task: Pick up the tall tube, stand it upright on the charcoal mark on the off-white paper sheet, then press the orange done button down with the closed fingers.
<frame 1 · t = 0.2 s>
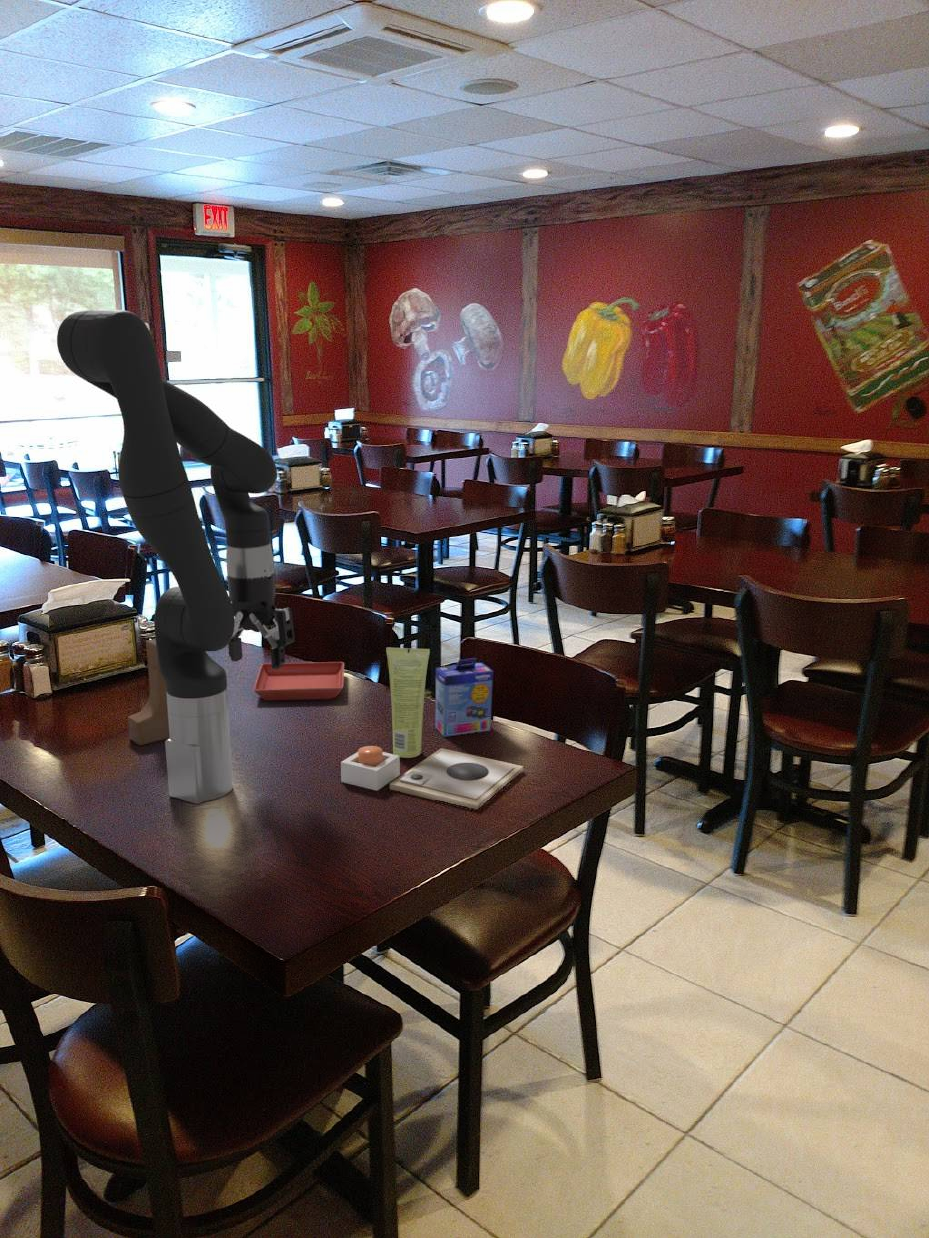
hand: (257, 663, 164), 18 cm above the table, tool pointing down, fingers open, 8 cm apart
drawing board: (457, 780, 162), on the table
plant saucer: (301, 690, 206), on the table
ink cartridge box: (463, 730, 184), on the table
button housing: (370, 778, 162), on the table
tube: (408, 754, 172), on the table
done button: (370, 760, 161), point 3 cm above the table, slide at 0.0 cm
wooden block: (157, 737, 178), on the table
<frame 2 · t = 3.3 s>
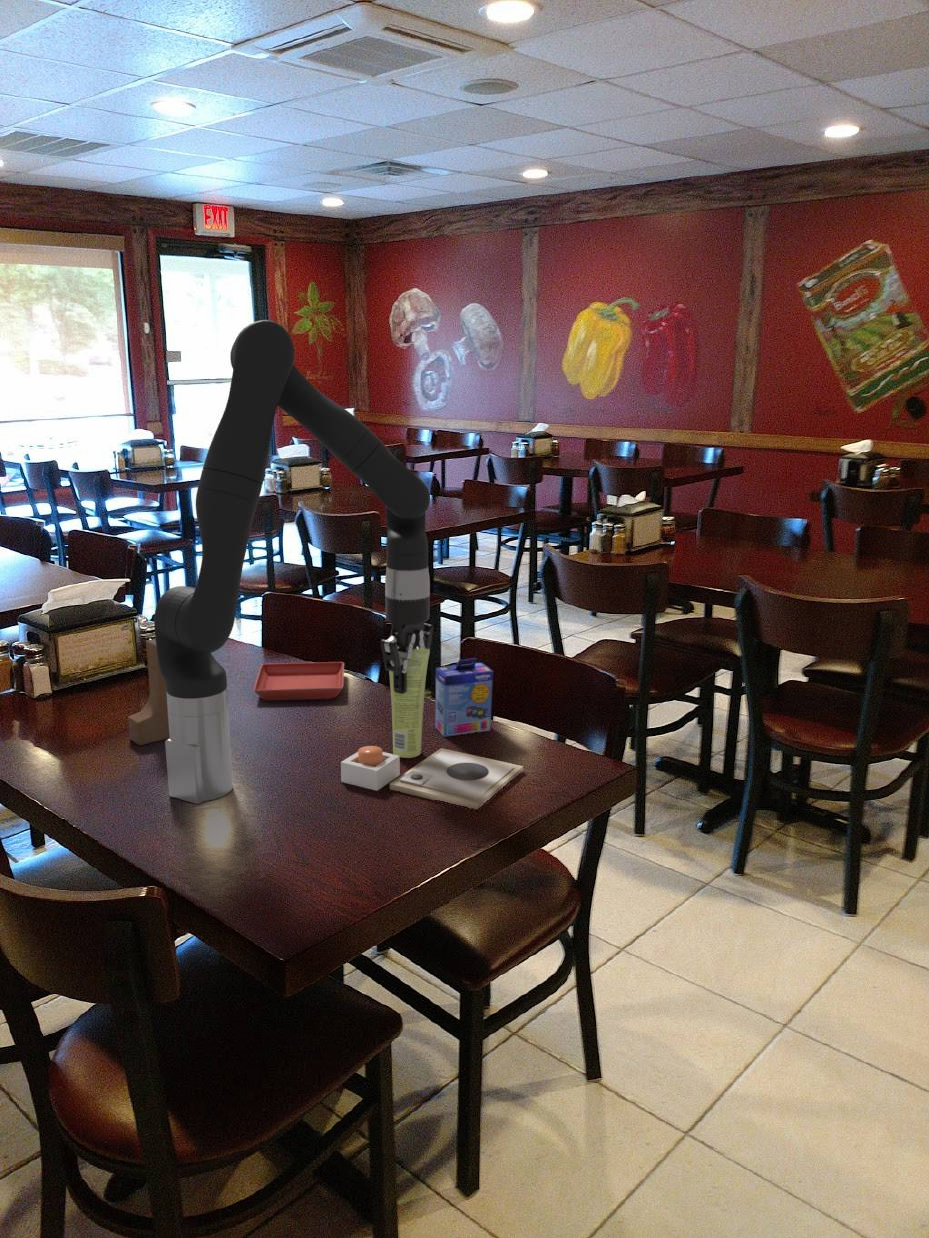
hand: (407, 687, 169), 12 cm above the table, tool pointing down, fingers closed on tube, 4 cm apart
tube: (408, 754, 172), on the table, touching gripper
everything else where it was.
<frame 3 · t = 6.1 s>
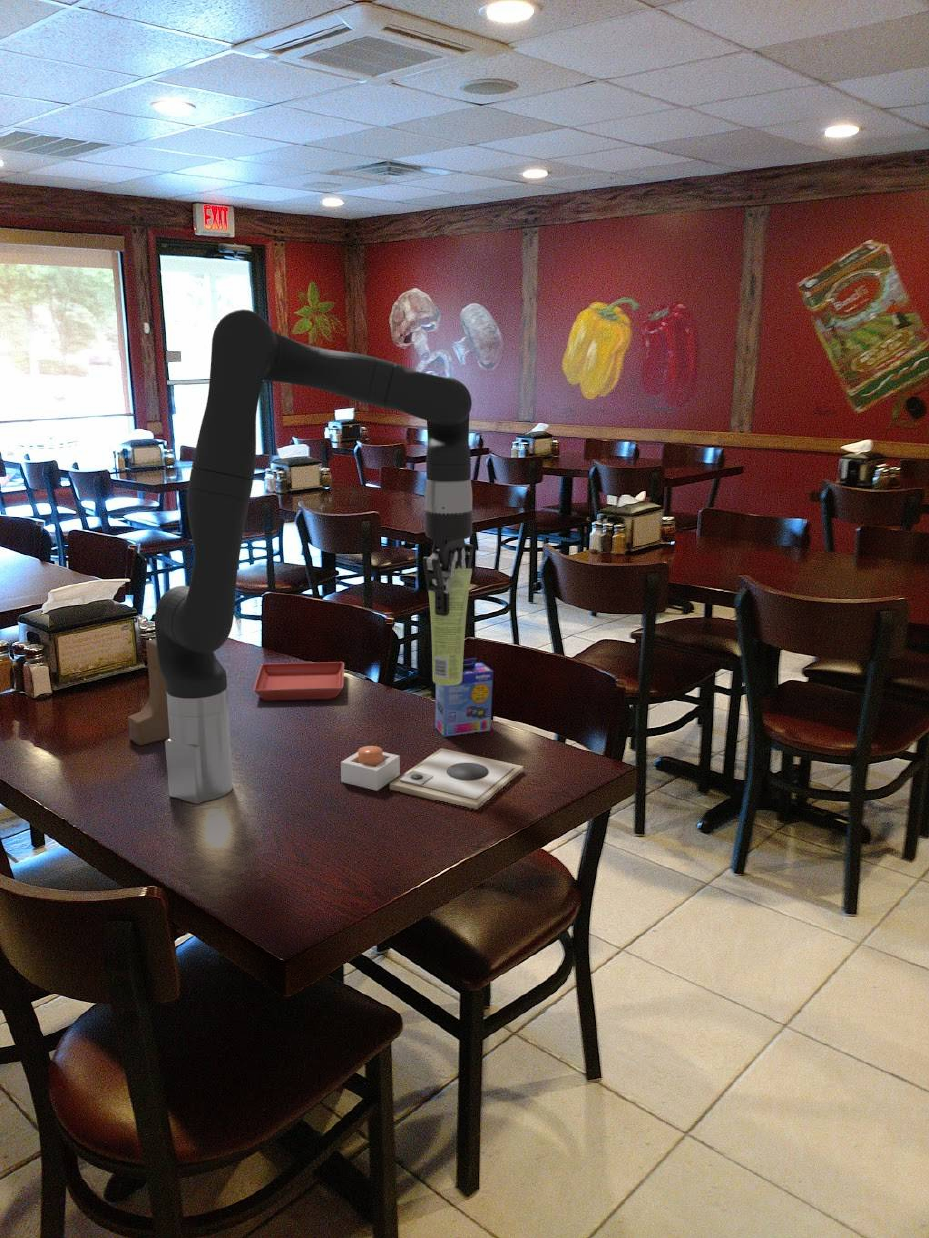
hand: (449, 610, 159), 28 cm above the table, tool pointing down, fingers closed on tube, 4 cm apart
tube: (448, 683, 162), point 15 cm above the table, touching gripper
everything else where it was.
when the fingers open (14 cm above the table, at t = 8.6 s): tube stays where it is, resting on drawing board.
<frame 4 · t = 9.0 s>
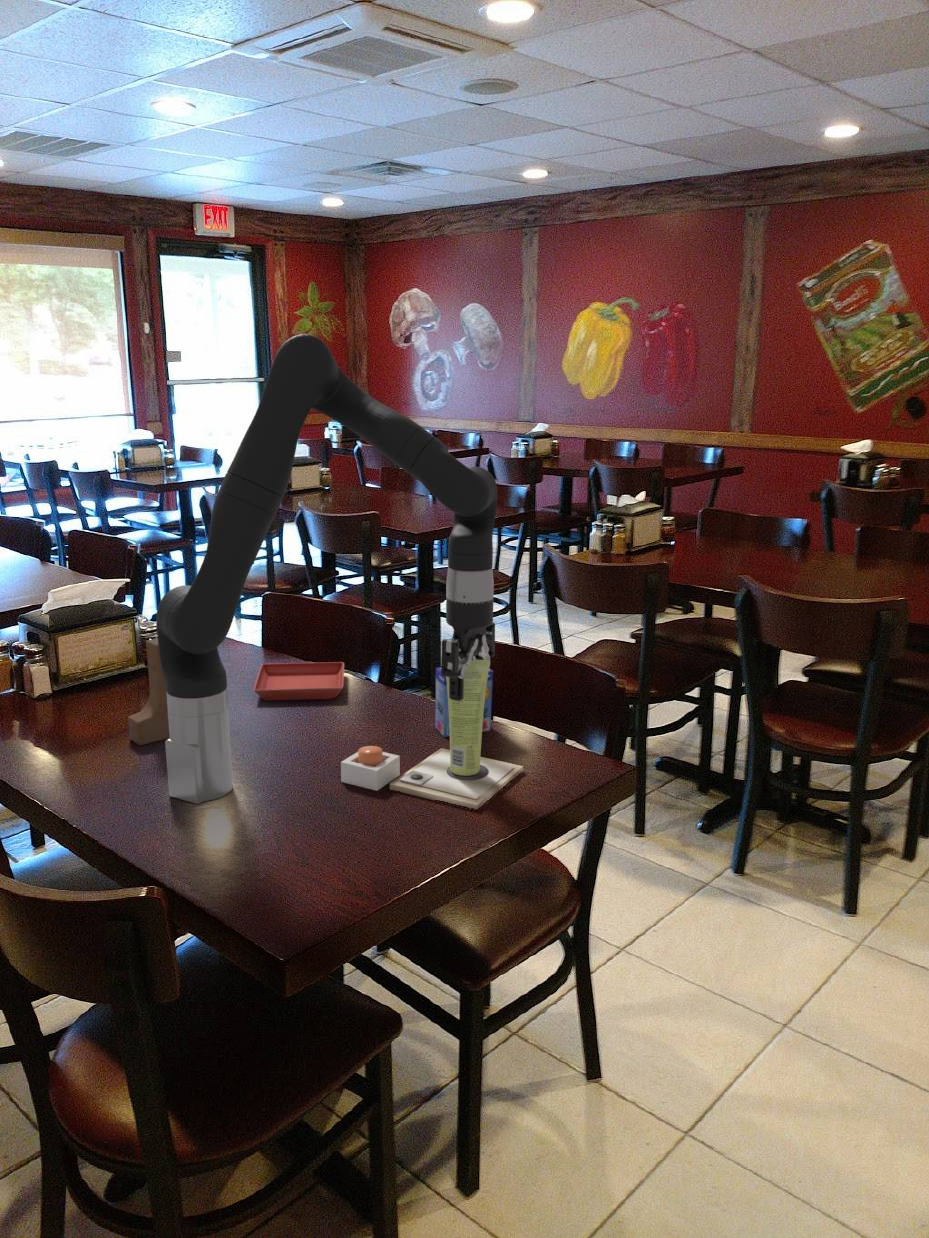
hand: (468, 691, 158), 15 cm above the table, tool pointing down, fingers open, 8 cm apart
tube: (466, 772, 162), point 1 cm above the table, touching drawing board
everything else where it was.
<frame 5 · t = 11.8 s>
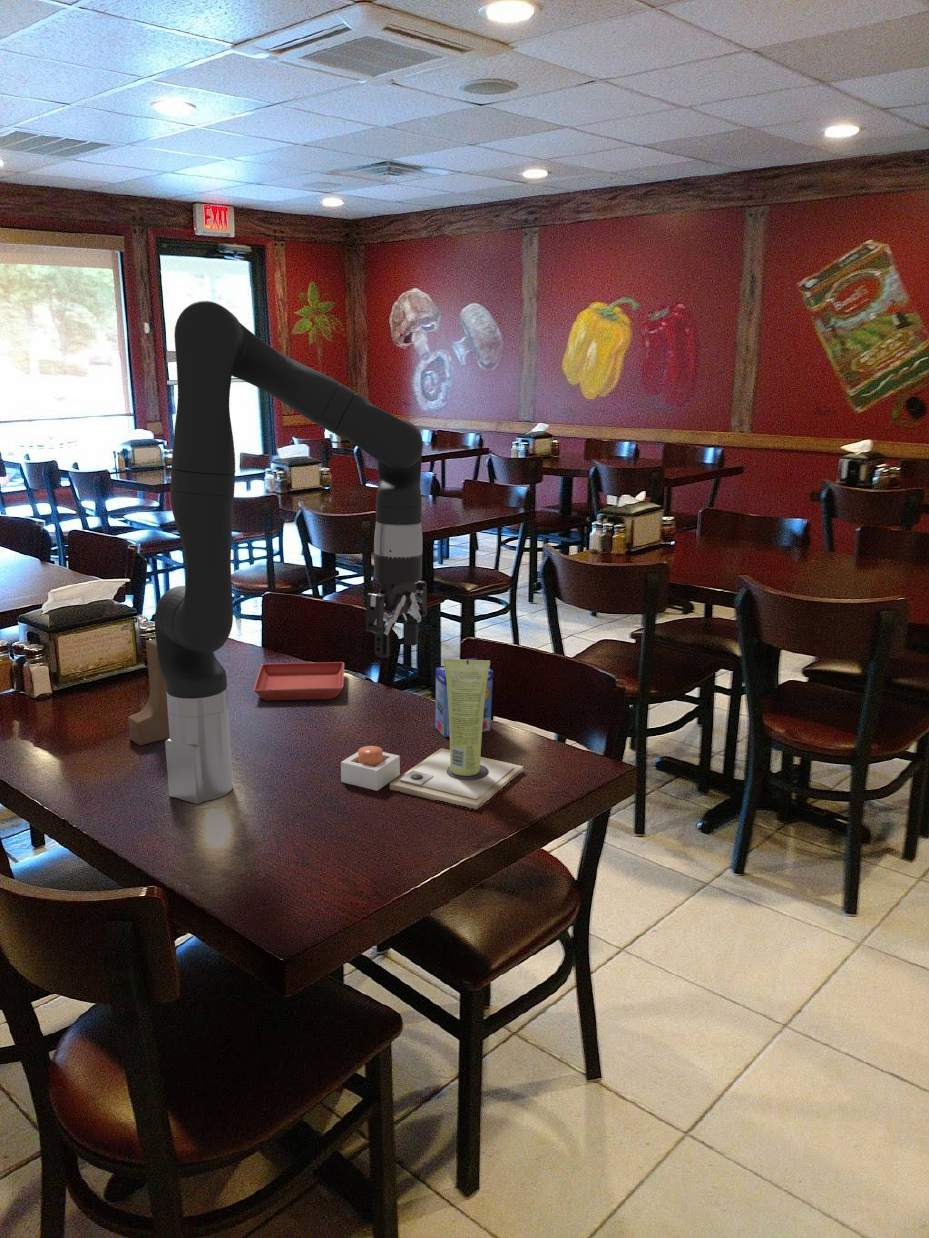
hand: (396, 650, 156), 22 cm above the table, tool pointing down, fingers open, 8 cm apart
nothing on the table moved.
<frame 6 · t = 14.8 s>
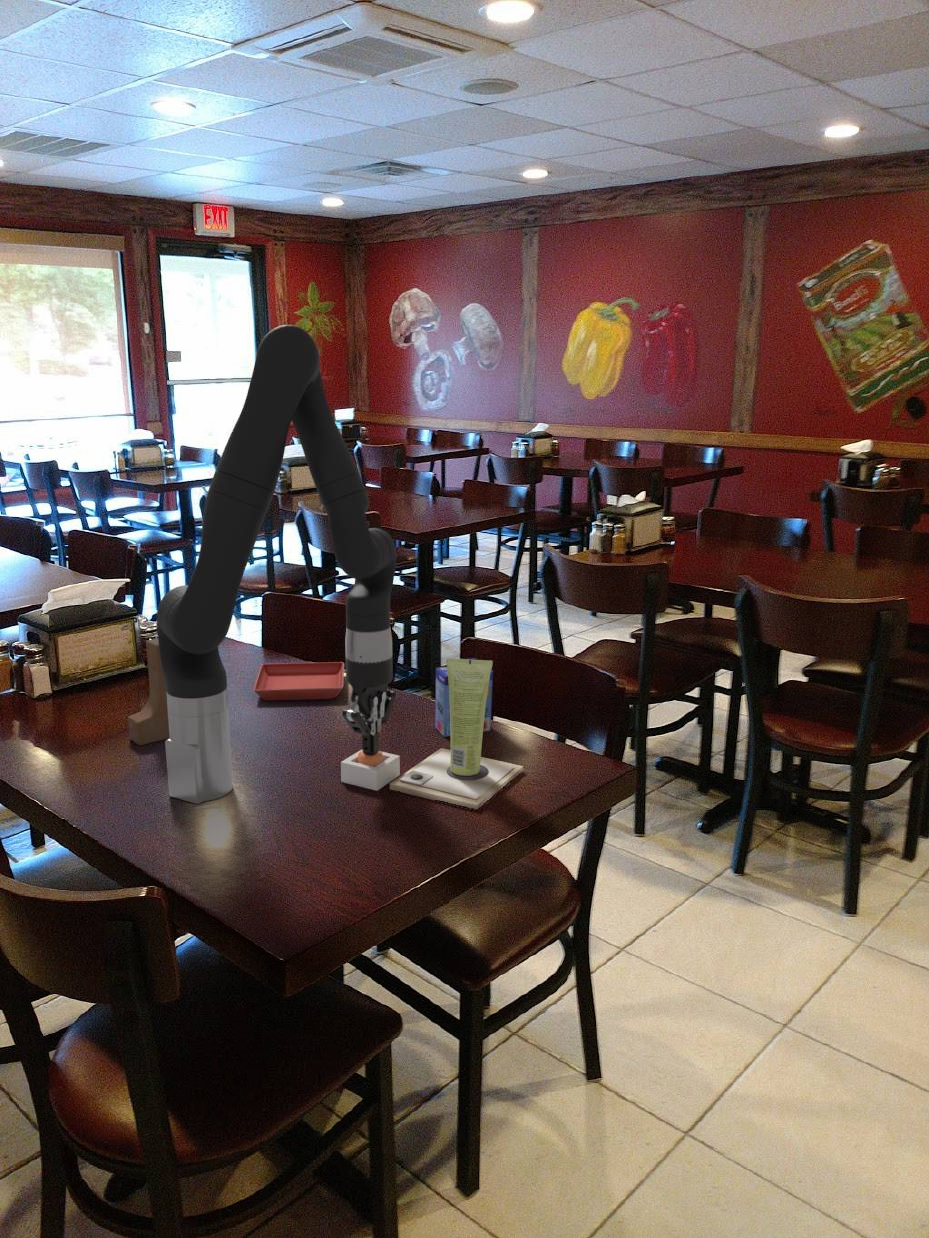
hand: (370, 753, 161), 4 cm above the table, tool pointing down, fingers closed
done button: (370, 763, 161), point 3 cm above the table, slide at 0.7 cm, touching gripper
everything else where it was.
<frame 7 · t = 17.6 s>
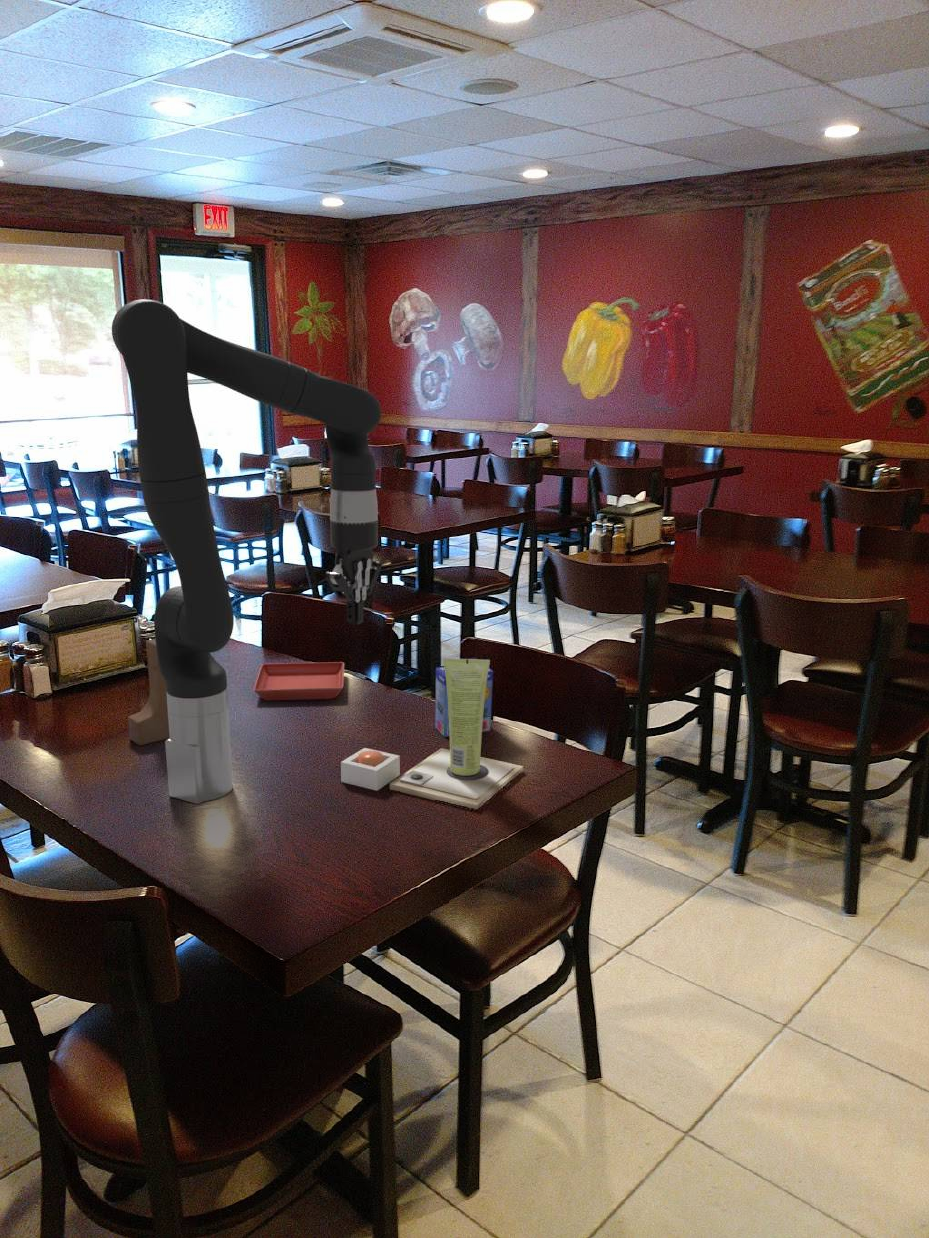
hand: (355, 622, 158), 26 cm above the table, tool pointing down, fingers closed
done button: (370, 765, 161), point 2 cm above the table, slide at 0.9 cm
everything else where it was.
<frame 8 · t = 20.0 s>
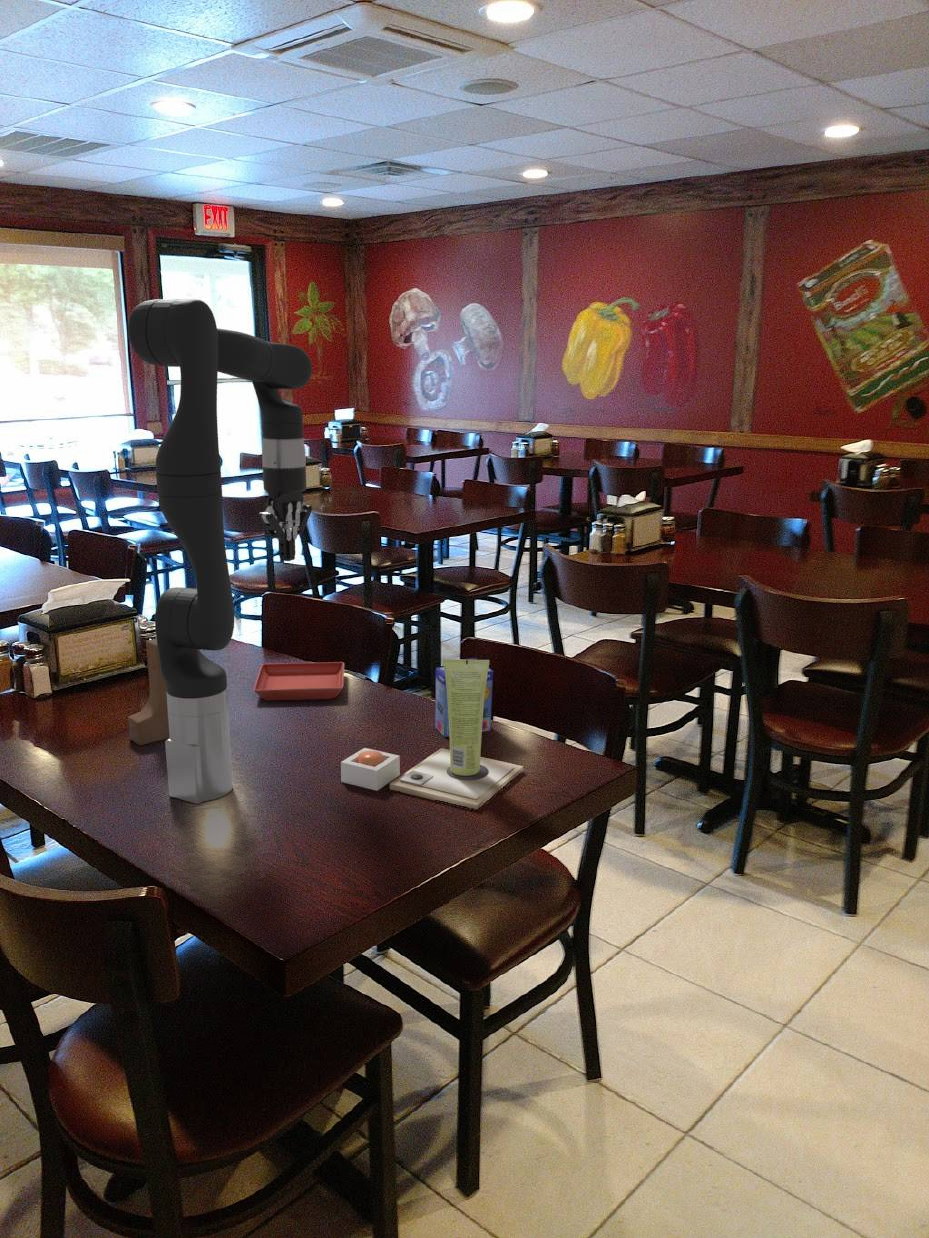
hand: (287, 560, 176), 32 cm above the table, tool pointing down, fingers closed
nothing on the table moved.
at the end: tube inside the target area on the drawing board (0.2 cm from its centre), point 1.1 cm above the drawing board's base; tube tilted 1°; done button slide at 0.9 cm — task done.
